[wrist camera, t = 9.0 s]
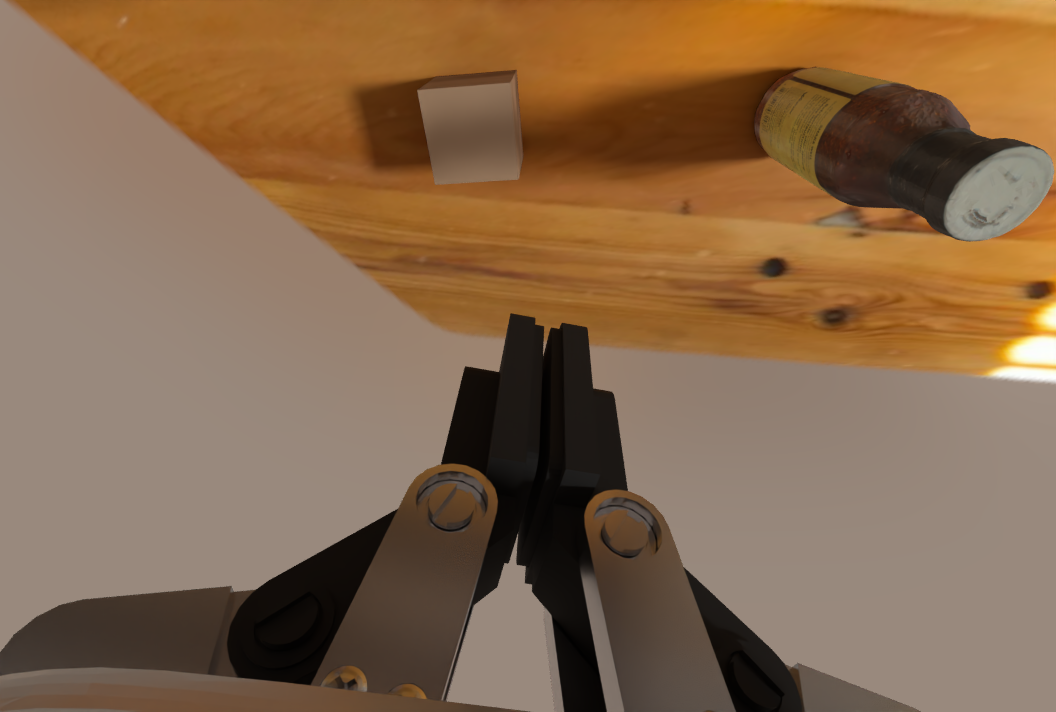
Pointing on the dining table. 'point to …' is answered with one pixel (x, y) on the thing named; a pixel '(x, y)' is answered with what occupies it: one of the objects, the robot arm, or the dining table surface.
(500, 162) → the grey cube
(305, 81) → the dining table surface
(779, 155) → the sauce bottle
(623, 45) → the dining table surface
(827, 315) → the dining table surface
